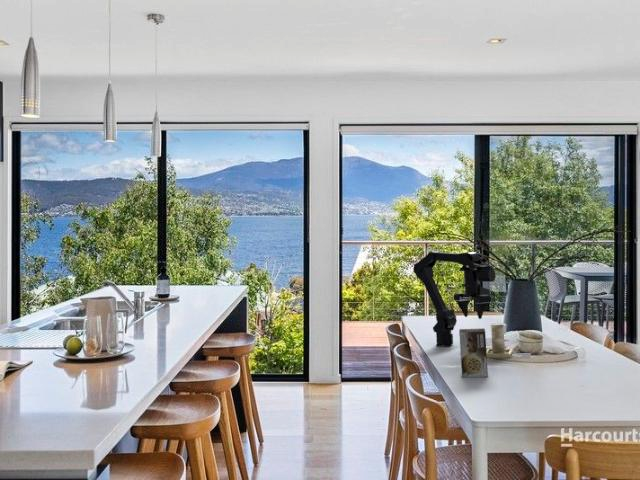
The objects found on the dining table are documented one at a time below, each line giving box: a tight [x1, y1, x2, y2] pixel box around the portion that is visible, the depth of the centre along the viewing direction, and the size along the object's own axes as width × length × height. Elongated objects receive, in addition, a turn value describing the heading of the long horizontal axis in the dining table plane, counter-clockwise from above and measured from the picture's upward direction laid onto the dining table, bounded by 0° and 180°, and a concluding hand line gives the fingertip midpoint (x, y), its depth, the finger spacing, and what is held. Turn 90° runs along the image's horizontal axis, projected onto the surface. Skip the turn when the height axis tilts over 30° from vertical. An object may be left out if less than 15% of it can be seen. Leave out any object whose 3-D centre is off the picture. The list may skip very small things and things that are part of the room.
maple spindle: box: [490, 323, 507, 353], centre depth 266 cm, size 6×6×12 cm
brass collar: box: [486, 349, 513, 359], centre depth 266 cm, size 10×10×2 cm
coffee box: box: [458, 327, 489, 378], centre depth 237 cm, size 9×6×16 cm
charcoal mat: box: [487, 352, 532, 360], centre depth 271 cm, size 24×24×1 cm
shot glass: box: [490, 322, 507, 335], centre depth 305 cm, size 7×7×7 cm
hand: (473, 317), depth 287 cm, fingers open, 9 cm apart
